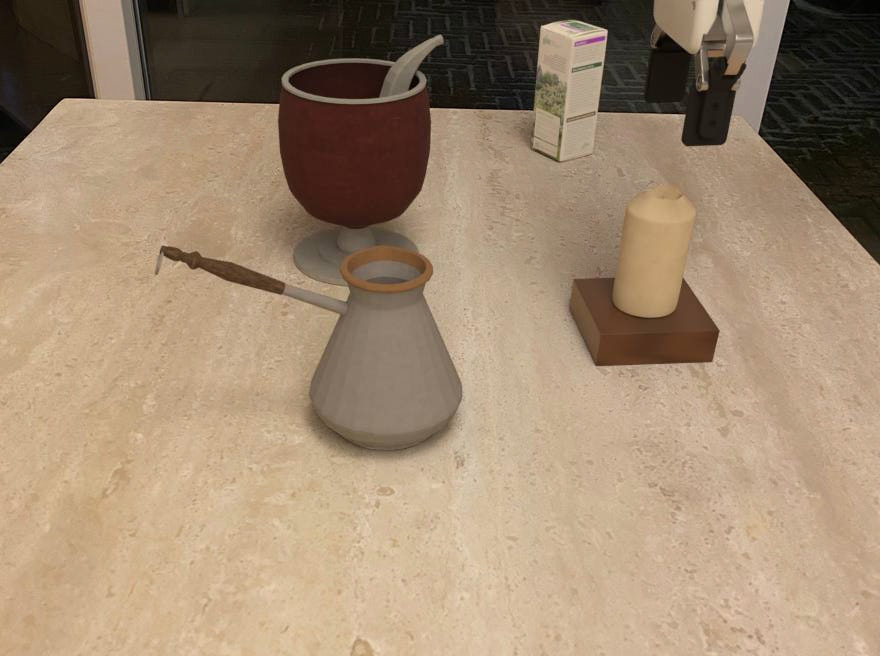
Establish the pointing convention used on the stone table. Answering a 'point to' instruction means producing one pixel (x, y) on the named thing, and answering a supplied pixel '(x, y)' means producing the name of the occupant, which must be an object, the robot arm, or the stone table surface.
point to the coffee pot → (370, 347)
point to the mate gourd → (354, 151)
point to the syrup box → (568, 89)
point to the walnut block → (641, 328)
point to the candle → (653, 252)
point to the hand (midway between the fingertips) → (682, 121)
